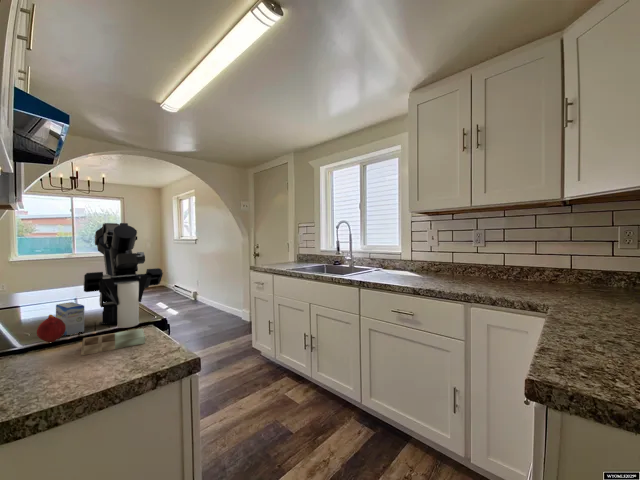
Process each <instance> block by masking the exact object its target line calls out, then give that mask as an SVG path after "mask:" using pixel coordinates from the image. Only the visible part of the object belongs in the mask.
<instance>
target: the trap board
mask: <svg viewBox="0 0 640 480" xmlns="http://www.w3.org/2000/svg"><path fill="white" fill-rule="evenodd" d="M144 332H145V331H144V329H143V327H141V328H136V329H131V330H125V331H117V332H113V333H106V334H100V335H99V334H98V335H95V336H89V337H83V338H82V342H81V346H80V356H87V355H92V354H96V353H97V354H98V353H101V352H108V351H112V350H117V349H122V348H127V347H133V346H137V345H143V344H146V336H145V333H144Z"/></svg>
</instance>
